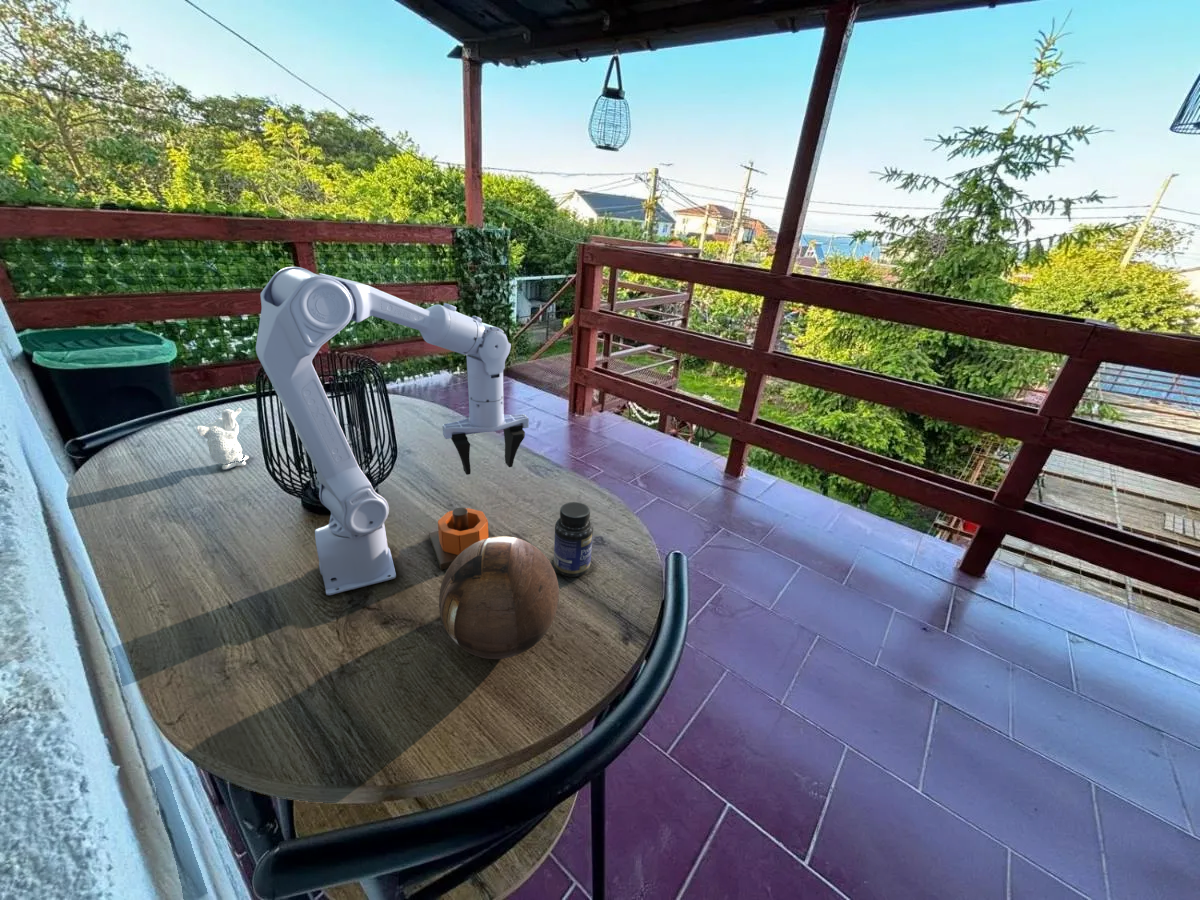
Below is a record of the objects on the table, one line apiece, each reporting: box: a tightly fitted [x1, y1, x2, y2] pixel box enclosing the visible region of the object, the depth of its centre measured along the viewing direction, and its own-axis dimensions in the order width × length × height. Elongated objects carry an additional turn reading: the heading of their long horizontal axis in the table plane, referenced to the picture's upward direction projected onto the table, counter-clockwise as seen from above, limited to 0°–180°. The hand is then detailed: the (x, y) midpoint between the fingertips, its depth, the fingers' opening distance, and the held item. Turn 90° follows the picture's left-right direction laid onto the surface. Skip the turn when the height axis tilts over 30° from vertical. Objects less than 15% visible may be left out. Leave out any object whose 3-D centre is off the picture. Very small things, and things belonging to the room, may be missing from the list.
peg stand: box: [428, 507, 490, 571], centre depth 80 cm, size 9×9×7 cm
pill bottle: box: [553, 501, 594, 578], centre depth 77 cm, size 6×6×11 cm
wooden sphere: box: [438, 535, 560, 660], centre depth 62 cm, size 15×15×15 cm
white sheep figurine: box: [196, 407, 250, 470], centre depth 98 cm, size 8×7×12 cm
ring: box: [437, 507, 489, 555], centre depth 80 cm, size 8×8×4 cm
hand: (488, 468), depth 86 cm, fingers open, 7 cm apart
